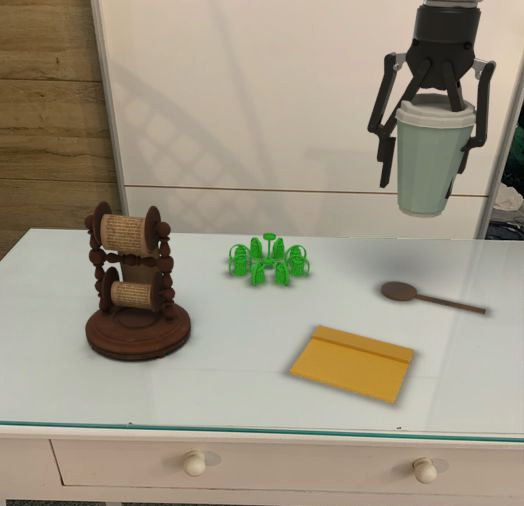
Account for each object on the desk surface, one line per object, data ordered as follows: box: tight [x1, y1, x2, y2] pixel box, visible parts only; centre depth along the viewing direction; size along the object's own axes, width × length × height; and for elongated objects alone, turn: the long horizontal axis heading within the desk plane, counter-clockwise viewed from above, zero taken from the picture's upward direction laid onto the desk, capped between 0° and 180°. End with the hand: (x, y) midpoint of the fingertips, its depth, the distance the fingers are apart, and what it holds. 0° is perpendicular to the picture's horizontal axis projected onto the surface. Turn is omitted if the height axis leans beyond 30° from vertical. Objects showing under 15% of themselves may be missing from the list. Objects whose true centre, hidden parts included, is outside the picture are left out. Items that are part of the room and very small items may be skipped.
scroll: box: [83, 200, 192, 360], centre depth 75 cm, size 15×15×20 cm
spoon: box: [380, 280, 487, 315], centre depth 91 cm, size 17×6×1 cm, turn 66°
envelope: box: [289, 324, 415, 405], centre depth 76 cm, size 14×12×2 cm
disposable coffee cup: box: [395, 92, 477, 219], centre depth 76 cm, size 11×11×15 cm
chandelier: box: [228, 232, 311, 287], centre depth 97 cm, size 15×15×7 cm
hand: (415, 190), depth 79 cm, fingers open, 8 cm apart
